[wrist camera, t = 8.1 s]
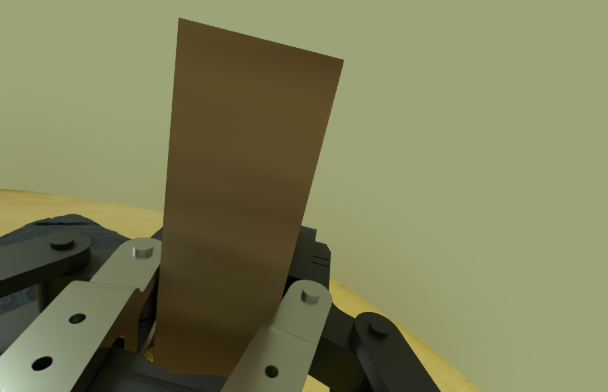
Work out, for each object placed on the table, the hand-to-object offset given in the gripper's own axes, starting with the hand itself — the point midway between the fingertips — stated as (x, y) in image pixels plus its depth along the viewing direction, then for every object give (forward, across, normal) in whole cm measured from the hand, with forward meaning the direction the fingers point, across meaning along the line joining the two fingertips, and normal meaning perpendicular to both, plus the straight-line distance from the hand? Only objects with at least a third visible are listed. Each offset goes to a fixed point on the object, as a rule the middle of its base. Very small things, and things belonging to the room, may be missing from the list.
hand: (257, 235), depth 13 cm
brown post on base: (-3, 0, +8) cm, 8 cm away
